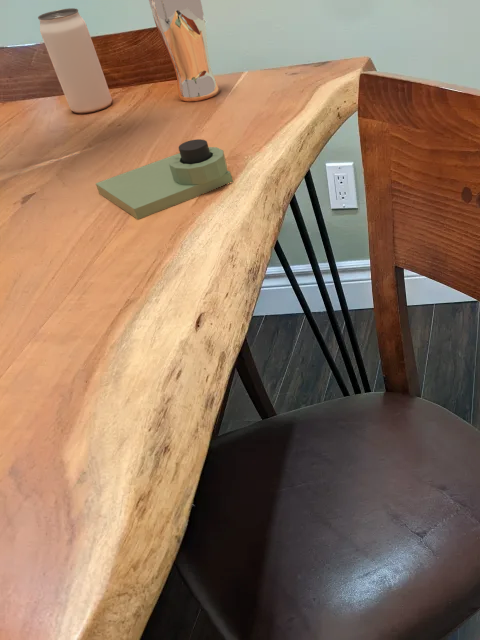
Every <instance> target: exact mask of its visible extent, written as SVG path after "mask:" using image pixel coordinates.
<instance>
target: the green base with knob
mask: <svg viewBox="0 0 480 640" xmlns="http://www.w3.org/2000/svg"><path fill="white" fill-rule="evenodd" d="M208 147H209V151H210V155H211V158H210V159H208V160H206V161H204V162H201V163H196V164H183V161H182V158H181V155H180V152H179V153H176V154H173V155H171V156H168V157H164V158H161V159H159V160H156V161H154V162H150V163H148V164H145V165H142V166H140V167H138V168H134V169H131V170H128V171H126V172H123V173H120V174H117V175H115V176H111V177H109V178H106V179H104V180H101V181H99V182H95V187H96V188H97V189H96V190H97V191H98V193H99V195H101V196H102V197H103V198H105V199H107V200H108V201H110V202H111V203H112V204H114V205H115V206H117V207H118V208H120V209H121V210H123V211H125V212H126V213H127V214H129V215H131V216H132V217H134V218H135V219H136V220H141V219H143V218H146V217H149V216H150V215H155V214H156V213H158V212H161V211H164V210H166V209H169V208H171V207H174V206H176V205H179V204H181V203H185V202H187V201H189V200H192V199H194V198H197V197H200V196H202V195H204V194H203V193H205V194H207V193H209V191H210V192H212V191H214V190H213V189H215V190H217V189H219V188H218V187H220V188H222V187H221V186H223V185H225V184H228V183H230V182H233V183H234V180H233V176H232V173H231V171H229V170H228V164H227V163H228V162H227V160H226V155H225V152H224V151H225V150H224V149H221V148H219V147H215V146H208ZM230 184H231V183H230ZM228 185H229V184H228ZM225 186H226V185H225ZM223 187H224V186H223ZM216 188H217V189H216ZM211 190H212V191H211ZM201 194H202V195H201ZM199 195H200V196H199ZM196 196H197V197H196Z"/></svg>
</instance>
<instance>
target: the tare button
mask: <svg viewBox="0 0 480 640" xmlns="http://www.w3.org/2000/svg"><path fill="white" fill-rule="evenodd" d="M209 147H210V146H209V144H208V141H207V140H205V139H199V138H198V139H191V140H187V141H185V142H182V143H180V144H179V146H178V151H179V153H180V155H181V158H182V161H183V164H196V163H201V162H204V161H206V160H208V159H210V158H211V155H210V151H209Z"/></svg>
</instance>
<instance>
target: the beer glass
mask: <svg viewBox="0 0 480 640" xmlns="http://www.w3.org/2000/svg"><path fill="white" fill-rule="evenodd" d="M148 3H149V7H150V11H151V14H152V18H153V20H154V25H155V27H156V29H157V31H158V35H159V37H160V39H161V42H162V43H163V46H164V48H165V50H166V52H167V55H168V57H169V60H170V62H171V64H172V67H173V70H174V74H175V77H176V78H175V79H176V83H177V85H176V86H177V93H178V98H179V100H180V101H183V102H189V103H190V102H199V101H204V100H208V99H211V98H213V97H216V96H217V95H218V94H219V93H220V88H219V85H218V83H217V80H216V78H215V75H214V73H213V70H212V66H211V62H210V57H209V48H208V38H207V37H208V36H207V28H206V21H205V15H204V9H203V5H202V0H148Z"/></svg>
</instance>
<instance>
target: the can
mask: <svg viewBox="0 0 480 640" xmlns="http://www.w3.org/2000/svg"><path fill="white" fill-rule="evenodd" d="M37 19H38V20H39V32H40V35H41V37H42V41H43V43H44V46H45V49H46V51H47V54H48V56H49V59H50V61H51V64H52V66H53V69H54V72H55V74H56V77H57V80H58V82H59V84H60V87H61V89H62V92H63V95H64V98H65V100H66V102H67V105H68V107H69V110H71V111H72V112H73V113H75V114H83V115H84V114H91V113H96V112H99V111H102V110H104V109H107V108H108V107H110V106H111V105H112V102H113V99H112V95H111V92H110V89H109V86H108V82H107V80H106V77H105V75H104V72H103V68H102V66H101V62H100V59H99V57H98V54H97V51H96V48H95V46H94V43H93V40H92V37H91V34H90V31H89V28H88V26H87V23H86V21H85V19H84V18H83V17H82V16H81V14H80V13H79V9H78V8H75V7H74V8H73V7H72V8H70V7H69V8H62V9H56V10H52V11H48V12H45V13H41V14H40V15H38V17H37Z"/></svg>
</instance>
